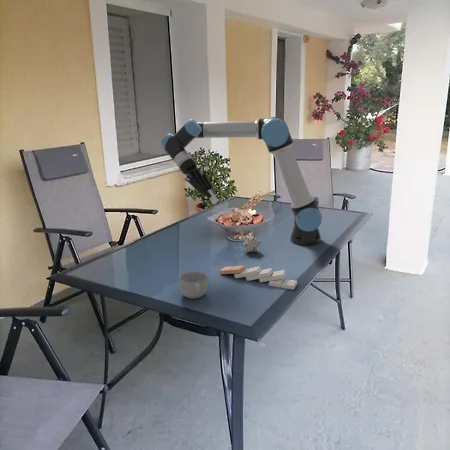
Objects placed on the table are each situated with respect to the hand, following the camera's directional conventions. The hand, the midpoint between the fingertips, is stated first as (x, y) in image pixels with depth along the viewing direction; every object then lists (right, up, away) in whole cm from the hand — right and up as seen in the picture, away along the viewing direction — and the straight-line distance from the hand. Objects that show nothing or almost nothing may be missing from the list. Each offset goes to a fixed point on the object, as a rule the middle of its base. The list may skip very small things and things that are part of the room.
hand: (216, 202), depth 195 cm
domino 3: (+14, -31, -16) cm, 38 cm away
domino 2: (+9, -31, -13) cm, 35 cm away
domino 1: (+3, -29, -9) cm, 31 cm away
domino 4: (+18, -32, -18) cm, 41 cm away
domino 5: (+22, -33, -21) cm, 45 cm away
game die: (+16, -23, +13) cm, 31 cm away
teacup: (-8, -37, -30) cm, 49 cm away
